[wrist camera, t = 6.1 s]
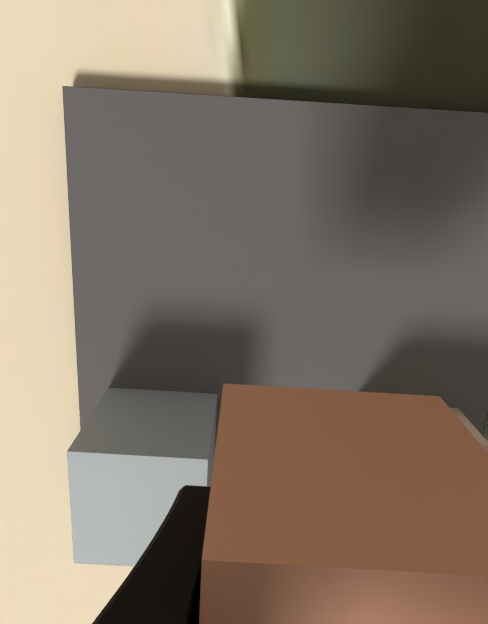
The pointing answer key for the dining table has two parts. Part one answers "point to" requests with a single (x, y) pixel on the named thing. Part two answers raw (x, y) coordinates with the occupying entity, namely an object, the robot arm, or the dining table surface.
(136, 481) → the slate block
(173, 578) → the robot arm
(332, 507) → the terracotta block
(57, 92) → the dining table surface
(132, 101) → the mat
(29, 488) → the dining table surface
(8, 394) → the dining table surface
